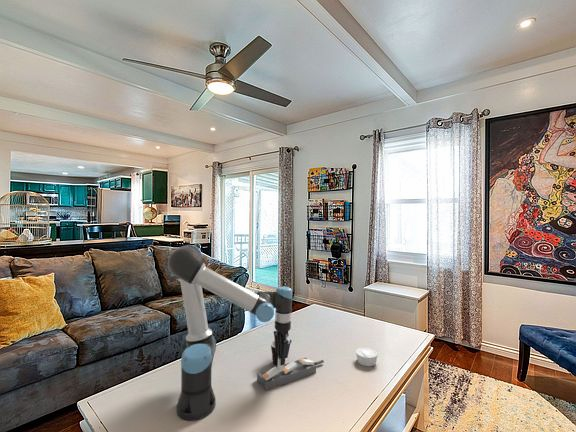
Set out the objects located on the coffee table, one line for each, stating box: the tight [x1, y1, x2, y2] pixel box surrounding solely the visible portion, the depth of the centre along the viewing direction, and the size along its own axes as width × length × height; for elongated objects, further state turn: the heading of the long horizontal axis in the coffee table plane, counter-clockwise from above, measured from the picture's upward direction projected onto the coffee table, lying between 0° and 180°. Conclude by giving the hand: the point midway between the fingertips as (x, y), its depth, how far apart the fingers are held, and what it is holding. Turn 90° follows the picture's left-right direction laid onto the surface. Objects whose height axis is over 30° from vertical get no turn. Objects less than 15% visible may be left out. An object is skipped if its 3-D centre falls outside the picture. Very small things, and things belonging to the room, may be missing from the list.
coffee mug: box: [270, 340, 286, 367], centre depth 152 cm, size 12×9×10 cm
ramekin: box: [355, 347, 379, 367], centre depth 152 cm, size 11×11×5 cm
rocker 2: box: [282, 360, 297, 374], centre depth 136 cm, size 7×3×1 cm, turn 121°
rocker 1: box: [263, 366, 279, 381], centre depth 131 cm, size 7×3×1 cm, turn 121°
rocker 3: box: [298, 358, 315, 365], centre depth 142 cm, size 7×3×1 cm, turn 122°
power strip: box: [256, 357, 325, 392], centre depth 140 cm, size 36×9×4 cm, turn 121°
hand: (280, 370), depth 134 cm, fingers closed
